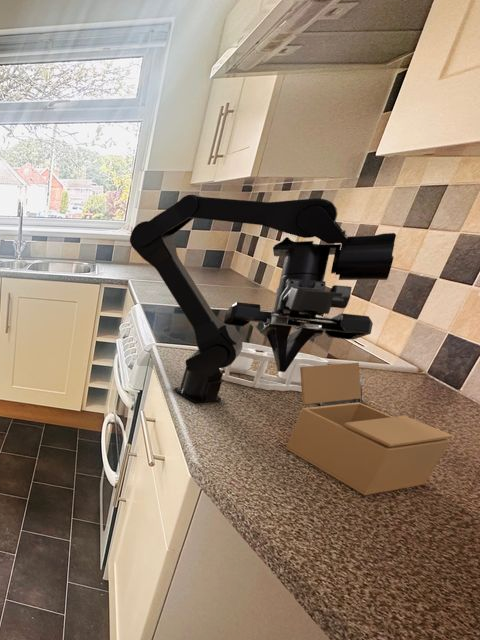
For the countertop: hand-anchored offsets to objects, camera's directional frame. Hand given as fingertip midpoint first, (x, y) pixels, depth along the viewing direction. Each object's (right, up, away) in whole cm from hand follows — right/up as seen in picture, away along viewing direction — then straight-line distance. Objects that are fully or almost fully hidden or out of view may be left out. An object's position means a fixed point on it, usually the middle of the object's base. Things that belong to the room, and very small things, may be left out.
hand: (281, 371), depth 69 cm
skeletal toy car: (+15, -2, +26) cm, 30 cm away
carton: (+8, -15, -4) cm, 17 cm away
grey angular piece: (+24, -6, +17) cm, 30 cm away
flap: (+6, -2, -2) cm, 7 cm away
